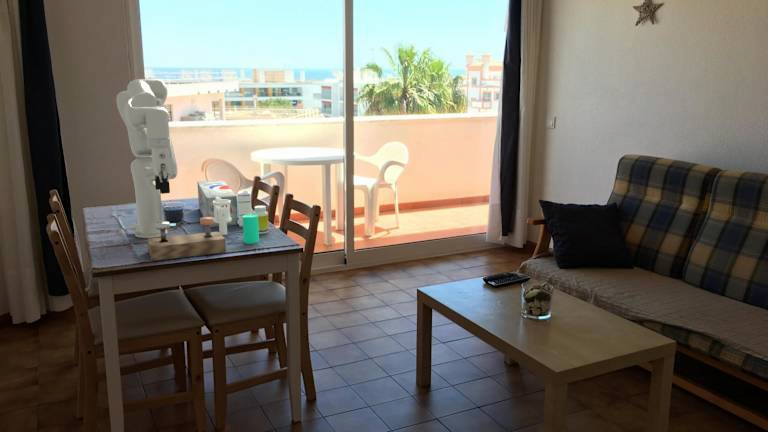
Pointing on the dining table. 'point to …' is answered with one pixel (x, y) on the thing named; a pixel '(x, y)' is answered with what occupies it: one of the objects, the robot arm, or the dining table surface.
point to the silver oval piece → (162, 229)
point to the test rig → (186, 246)
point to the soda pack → (208, 195)
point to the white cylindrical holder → (222, 214)
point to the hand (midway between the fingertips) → (162, 191)
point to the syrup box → (244, 204)
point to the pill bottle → (262, 219)
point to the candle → (250, 229)
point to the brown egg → (207, 224)
